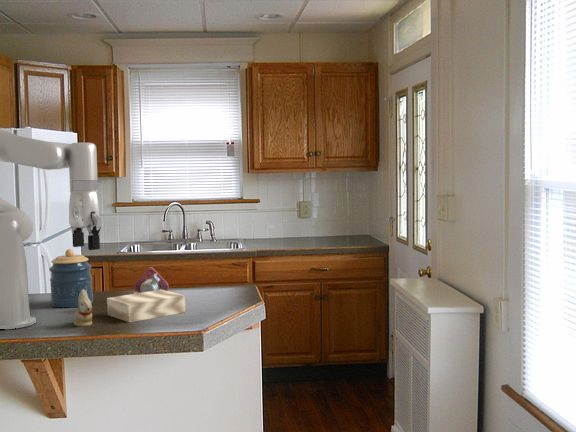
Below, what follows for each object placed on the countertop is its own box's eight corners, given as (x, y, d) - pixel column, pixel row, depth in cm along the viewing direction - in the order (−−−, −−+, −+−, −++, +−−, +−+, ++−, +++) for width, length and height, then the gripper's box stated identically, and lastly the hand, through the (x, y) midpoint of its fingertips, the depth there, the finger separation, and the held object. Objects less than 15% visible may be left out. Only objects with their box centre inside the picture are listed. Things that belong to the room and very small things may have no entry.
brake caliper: (174, 289, 238) (167, 264, 230) (168, 315, 230) (159, 290, 222) (141, 290, 239) (132, 264, 231) (133, 316, 231) (123, 290, 223)
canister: (67, 310, 223) (64, 252, 222) (42, 305, 231) (39, 250, 230) (102, 302, 233) (99, 247, 232) (76, 298, 241) (73, 245, 240)
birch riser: (129, 322, 203) (128, 304, 203) (107, 314, 214) (106, 298, 214) (185, 312, 214) (184, 295, 214) (162, 305, 225) (161, 289, 225)
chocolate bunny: (71, 328, 199) (69, 291, 198) (75, 321, 207) (73, 286, 206) (92, 326, 200) (90, 290, 199) (95, 320, 208) (93, 285, 207)
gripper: (58, 186, 207) (60, 246, 208) (85, 188, 194) (87, 252, 195) (82, 185, 212) (85, 244, 213) (110, 187, 199) (113, 249, 200)
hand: (86, 248), depth 204 cm, fingers open, 9 cm apart
